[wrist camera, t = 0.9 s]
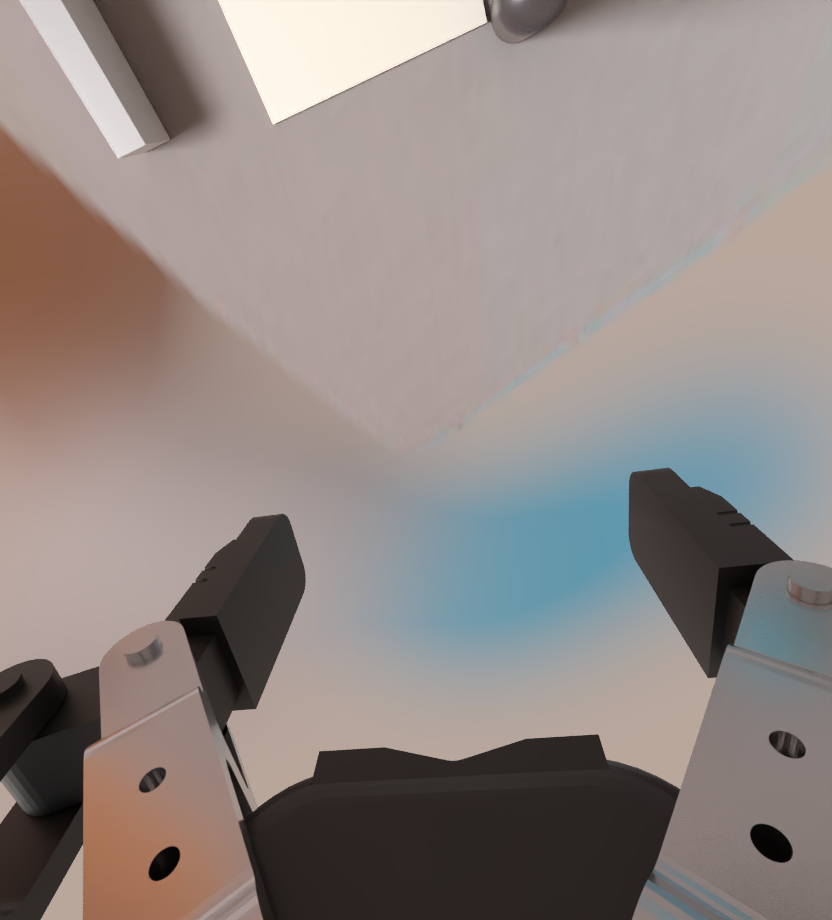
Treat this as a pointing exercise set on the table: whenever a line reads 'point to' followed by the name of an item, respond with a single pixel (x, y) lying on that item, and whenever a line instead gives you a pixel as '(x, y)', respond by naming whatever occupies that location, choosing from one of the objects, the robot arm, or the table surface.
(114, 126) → the wall
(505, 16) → the post
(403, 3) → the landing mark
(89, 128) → the table surface
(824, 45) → the table surface
